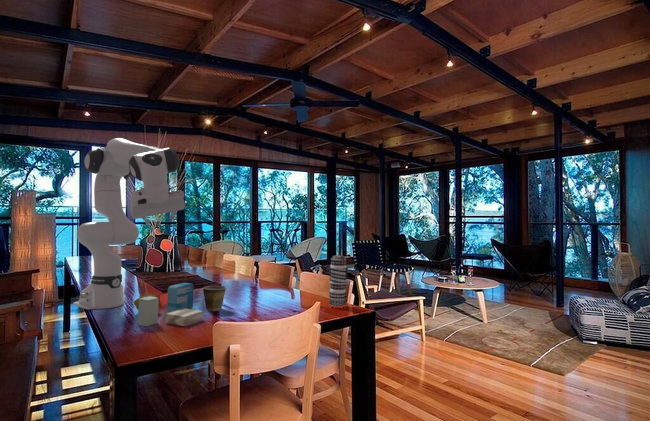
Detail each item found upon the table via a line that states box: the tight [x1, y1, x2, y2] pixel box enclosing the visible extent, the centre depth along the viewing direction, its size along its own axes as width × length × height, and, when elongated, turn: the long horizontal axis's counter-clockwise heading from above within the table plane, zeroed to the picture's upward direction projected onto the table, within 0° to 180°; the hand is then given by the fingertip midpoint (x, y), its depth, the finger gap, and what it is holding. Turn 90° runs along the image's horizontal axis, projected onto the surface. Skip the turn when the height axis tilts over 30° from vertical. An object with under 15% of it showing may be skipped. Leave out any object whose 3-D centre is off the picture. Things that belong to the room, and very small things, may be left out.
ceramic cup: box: [202, 285, 226, 312], centre depth 171 cm, size 13×10×10 cm
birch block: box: [165, 308, 204, 327], centre depth 149 cm, size 10×10×4 cm
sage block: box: [137, 296, 160, 327], centre depth 145 cm, size 5×5×10 cm
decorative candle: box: [328, 254, 348, 306], centre depth 182 cm, size 9×9×25 cm
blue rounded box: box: [166, 282, 195, 313], centre depth 165 cm, size 12×4×12 cm, turn 162°
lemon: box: [133, 294, 160, 310], centre depth 160 cm, size 11×8×8 cm
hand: (160, 221), depth 153 cm, fingers open, 8 cm apart
